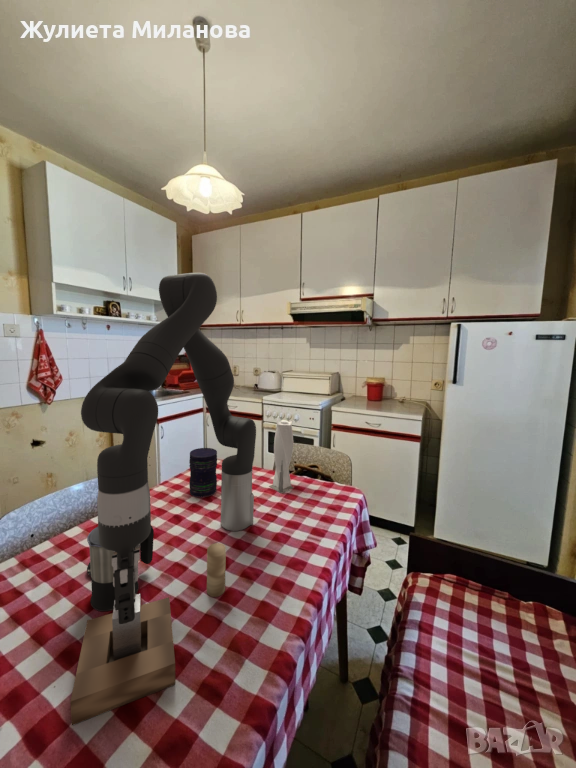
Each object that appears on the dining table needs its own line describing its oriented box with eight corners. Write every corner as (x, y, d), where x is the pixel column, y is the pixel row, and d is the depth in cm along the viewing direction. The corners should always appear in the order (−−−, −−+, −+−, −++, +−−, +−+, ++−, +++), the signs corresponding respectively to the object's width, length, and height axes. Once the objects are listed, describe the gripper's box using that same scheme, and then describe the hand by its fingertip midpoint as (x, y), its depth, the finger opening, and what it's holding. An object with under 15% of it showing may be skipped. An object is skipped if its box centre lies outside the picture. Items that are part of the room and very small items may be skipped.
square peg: (141, 643, 56) (140, 593, 55) (141, 664, 53) (139, 611, 51) (116, 651, 54) (114, 600, 53) (114, 673, 51) (112, 619, 50)
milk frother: (118, 617, 62) (115, 548, 60) (51, 601, 65) (47, 536, 63) (160, 567, 76) (159, 510, 74) (103, 556, 79) (101, 501, 77)
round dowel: (222, 581, 72) (223, 541, 71) (226, 593, 69) (227, 552, 67) (205, 585, 71) (205, 545, 69) (208, 599, 67) (209, 556, 66)
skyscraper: (266, 485, 122) (268, 416, 118) (281, 480, 127) (284, 413, 124) (280, 493, 116) (283, 421, 112) (296, 487, 121) (299, 418, 118)
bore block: (169, 614, 63) (169, 597, 62) (175, 684, 50) (175, 663, 50) (88, 639, 57) (87, 620, 56) (71, 725, 44) (70, 701, 44)
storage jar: (213, 498, 110) (213, 457, 108) (185, 496, 110) (185, 456, 108) (219, 485, 120) (220, 448, 118) (194, 484, 120) (194, 447, 118)
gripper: (151, 530, 45) (153, 628, 47) (149, 486, 58) (151, 565, 60) (90, 542, 42) (96, 646, 44) (103, 493, 55) (107, 576, 57)
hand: (128, 599), depth 52 cm, fingers open, 8 cm apart
